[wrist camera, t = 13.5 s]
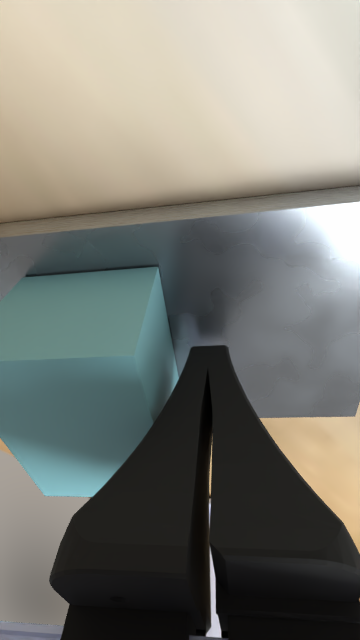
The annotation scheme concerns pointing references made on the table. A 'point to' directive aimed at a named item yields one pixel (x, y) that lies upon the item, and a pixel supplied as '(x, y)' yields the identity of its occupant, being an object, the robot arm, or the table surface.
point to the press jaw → (82, 373)
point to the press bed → (232, 285)
